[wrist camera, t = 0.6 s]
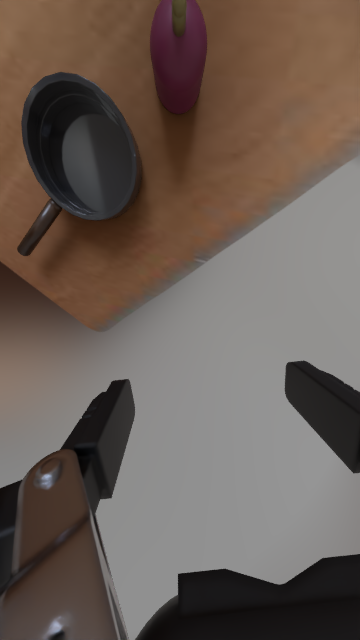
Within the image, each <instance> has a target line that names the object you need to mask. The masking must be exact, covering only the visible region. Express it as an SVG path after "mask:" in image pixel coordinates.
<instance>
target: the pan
mask: <svg viewBox="0 0 360 640" xmlns="http://www.w3.org/2000/svg"><path fill="white" fill-rule="evenodd" d="M21 122H22V123H21V124H22V137H23V144H24V148H25V151H26V155H27V159H28V161H29V164H30V166H31V168H32V170H33V172H34V174H35V176H36V179H37V180H38V182H39V183H40V184H41V186H42V187H43V189H44V190H45V191H46V193H47V194H48V195H49V196H50V197H51V198H52V199H53V200H54V201H55V202H56V203H57V204H58V205H59V206H60V207H62V208H63V209H65V210H66V211H68V212H69V213H71V214H73V215H75V216H78V217H80V218H83V219H86V220H97V221H98V220H107V219H111V218H116V217H118V216H120V215H122V214H123V213H125V212H126V211H127V210H128V209H129V208H130V207H131V206H132V204H133V203H134V201H135V199H136V197H137V195H138V193H139V189H140V184H141V179H142V173H141V159H140V154H139V150H138V146H137V143H136V141H135V138H134V136H133V134H132V132H131V129H130V127H129V126H128V124H127V122H126V120H125V118H124V117H123V115H122V114H121V112H120V111H119V109H118V108H117V106H116V105H115V103H114V102H113V101H112V99H111V98H110V97H109V96H108V95H107V94H106V93H105V92H104V91H103V90H102V89H100V88H99V87H98V86H97V85H96V84H95V83H93V82H91V81H89V80H87V79H85V78H84V77H82V76H80V75H77V74H71V73H64V72H59V73H55V74H52V75H48V76H45V77H43V78H42V79H41V80H40V81H39V82H38V83H37V84H36V85H34V86H33V87H32V89H31V91H30V93H29V95H28V97H27V99H26V101H25V104H24V109H23V115H22V121H21Z"/></svg>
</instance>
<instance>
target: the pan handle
mask: <svg viewBox="0 0 360 640" xmlns="http://www.w3.org/2000/svg"><path fill="white" fill-rule="evenodd" d="M61 210H62V207H60V206H59V205H58V204H57V203H56V202H55V201H54V200H53V199H52V198H51V199H49V201H48V202H47V204H46V205H45V207H44V208H43V210H42V211H41V213H40V214H39V216H38V217H37V219H36V220H35V222H34V223H33V225H32V226H31V228H30V229H29V231H28V232H27V234H26V235H25V237H24V238H23V240H22V241H21V243H20V244H19V246H18V248H17V250H18V252H19V253H20V254H21V255H23V256H28V255H30V254H31V253H32V251H33V250H34V248H35V247H36V246H37V244H38V243H39V241H40V240H41V239H42V237H43V236H44V234H45V233H46V232H47V230H48V229H49V227H50V226H51V225H52V223H53V222H54V220H55V219H56V218H57V216H58V215H59V213H60V212H61Z"/></svg>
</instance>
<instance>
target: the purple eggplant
mask: <svg viewBox="0 0 360 640" xmlns="http://www.w3.org/2000/svg"><path fill="white" fill-rule="evenodd" d="M150 52H151V60H152V66H153V72H154V78H155V84H156V89H157V93H158V96H159V99H160V101H161V102H162V104H163V105H164V107H165V108H166V109H167V110H169V111H170V112H172V113H175V114H182V113H185V112H187V111H188V110H189V109H190V108H191V107H192V106H193V105H194V103H195V102H196V100H197V97H198V95H199V91H200V87H201V81H202V76H203V71H204V66H205V61H206V53H207V34H206V26H205V22H204V18H203V15H202V12H201V10H200V8H199V6H198V4H197V3H196V1H195V0H162V1H161V2H160V4H159V5H158V7H157V9H156V12H155V15H154V18H153V21H152V26H151V34H150Z"/></svg>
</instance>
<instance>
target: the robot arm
mask: <svg viewBox="0 0 360 640" xmlns="http://www.w3.org/2000/svg"><path fill="white" fill-rule="evenodd" d="M285 394H286V397H287V399H288V400H289V402H290V403H291V404H292V405H293V407H294V408H295V409H296V410H297V411H298V412H299V413H300V415H301V416H302V417H303V418H304V419H305V420H306V421H307V422H308V423H309V425H310V426H311V427H312V428H313V429H314V430H315V431H316V432H317V433H318V435H319V436H320V437H321V438H322V439H323V440H324V441H325V442H326V443H327V445H328V446H329V447H330V448H331V449H332V450H333V451H334V452H335V453H336V455H337V456H338V457H339V458H340V459H341V460H342V461H343V462H344V463H345V464H346V466H347V467H348V468H349V469H350V470H351V471H352V472H353V473H360V392H358V391H357V390H354V389H353V388H352V387H350V386H349V385H347V384H344V382H343V381H341V380H339V379H338V378H336V377H335V376H333V375H331V374H329V373H326V372H324V371H321V370H319V369H317V368H316V367H314V366H313V365H311V364H310V363H308V362H306V361H297V362H288V363H287V365H286V376H285ZM134 416H135V406H134V400H133V395H132V390H131V385H130V381H129V380H128V379H124V380H115V381H112V382H111V384H110V386H109V388H108V389H107V391H106V392H102V393H101V394H99V395H98V396H97V397H96V398H95V399H93V401H92V402H91V404H90V405H89V407H88V408H87V411H85V413H84V414H83V416H82V419H80V420H79V422H78V423H77V425H76V426H75V428H74V429H73V431H72V432H71V434H70V435H69V437H68V438H67V440H66V441H65V443H64V445H63V446H62V447H61V449H60V450H59V451H56V452H53V453H51V454H50V455H48V456H46V457H45V458H43V459H42V460H40V461H39V462H38V463H37V464H36V465H34V466H33V467H32V468H31V469H30V471H29V472H28V473H27V475H26V476H25V477H24V479H23V480H21V481H18V482H15V483H13V484H10V485H7V486H5V487H3V488H0V640H129V637H128V633H127V630H126V626H125V622H124V619H123V615H122V611H121V608H120V604H119V601H118V598H117V594H116V591H115V587H114V583H113V579H112V575H111V572H110V568H109V564H108V560H107V556H106V553H105V549H104V545H103V541H102V537H101V533H100V529H99V526H98V522H97V518H96V514H95V513H96V510H97V507H98V504H99V501H100V499H107V498H112V494H113V490H114V487H115V483H116V480H117V476H118V473H119V470H120V466H121V462H122V459H123V456H124V452H125V449H126V445H127V442H128V438H129V434H130V431H131V428H132V424H133V421H134ZM135 640H360V554H357V555H348V556H338V557H329V558H322V559H321V560H319V561H318V562H316V563H315V564H313V565H312V566H310V567H309V568H307V569H306V570H304V571H303V572H301V573H300V574H298V575H297V576H295V577H294V578H292V579H291V580H289V581H288V582H287V583H285V584H281V585H278V584H274V583H270V582H267V581H264V580H260V579H257V578H254V577H250V576H247V575H244V574H241V573H237V572H234V571H231V570H228V569H219V570H209V571H200V572H191V573H181V574H178V595H177V596H175V597H174V598H172V599H170V600H169V601H168V602H167V603H166V604H164V605H163V606H162V607H161V608H160V609H159V610H158V611H157V612H156V613H155V614H154V615H153V616H152V618H151V619H150V620H149V621H148V622H147V623H146V625H145V626H144V628H143V629H142V630H141V632H140V633H139V635H138V636H137V638H136V639H135Z"/></svg>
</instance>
